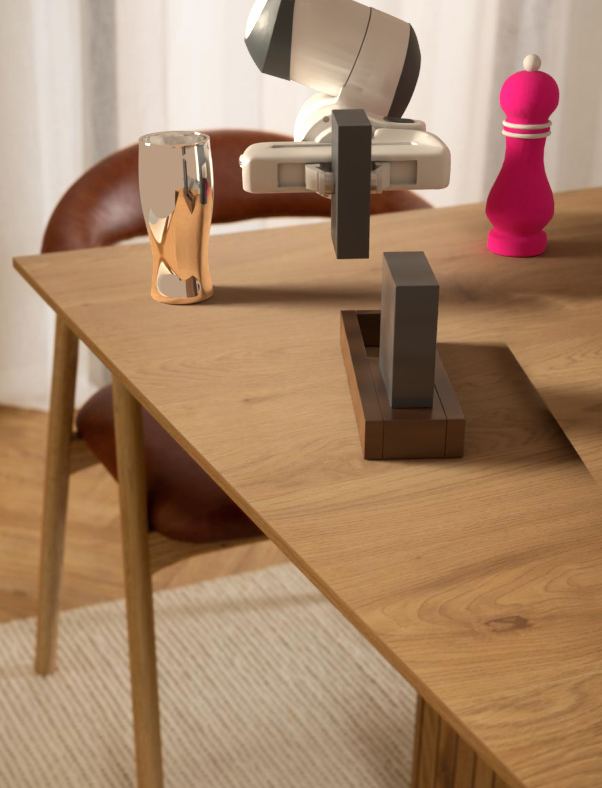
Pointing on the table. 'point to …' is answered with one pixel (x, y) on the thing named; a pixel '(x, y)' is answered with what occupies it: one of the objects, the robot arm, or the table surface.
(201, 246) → the beer glass
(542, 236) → the pepper mill
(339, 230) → the back pad
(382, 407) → the backrest rail
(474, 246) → the table surface
